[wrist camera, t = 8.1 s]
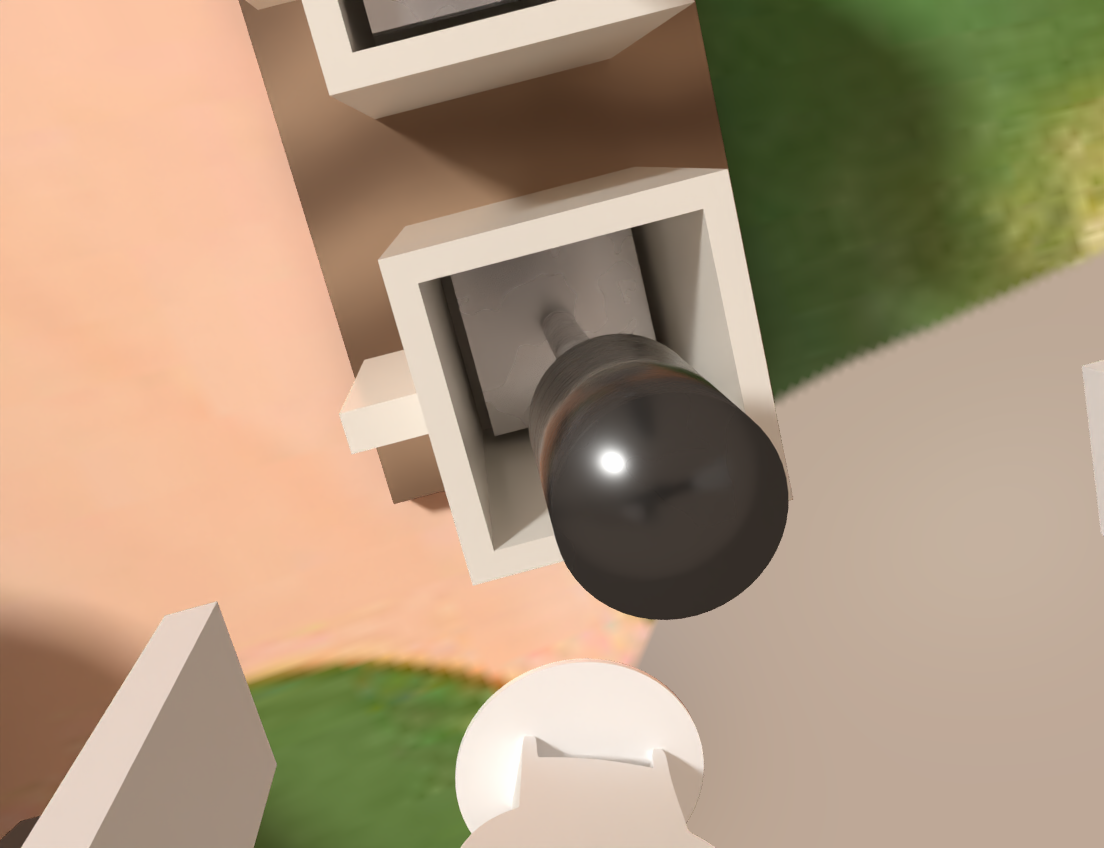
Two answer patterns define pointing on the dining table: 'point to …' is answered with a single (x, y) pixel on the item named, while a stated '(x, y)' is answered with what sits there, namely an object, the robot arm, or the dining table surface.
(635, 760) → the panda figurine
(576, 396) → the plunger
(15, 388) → the dining table surface
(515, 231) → the square cup with tab
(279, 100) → the walnut board
